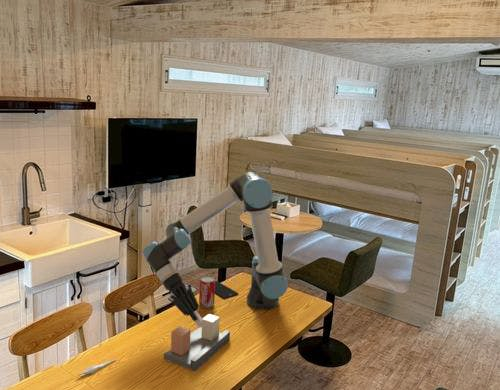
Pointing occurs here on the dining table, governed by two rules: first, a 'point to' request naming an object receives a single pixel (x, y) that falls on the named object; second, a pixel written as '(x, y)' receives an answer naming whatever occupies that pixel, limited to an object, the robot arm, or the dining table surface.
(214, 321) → the key cream
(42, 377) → the dining table surface
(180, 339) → the reddish pink block
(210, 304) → the soda can
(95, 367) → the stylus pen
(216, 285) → the cell phone
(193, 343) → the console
